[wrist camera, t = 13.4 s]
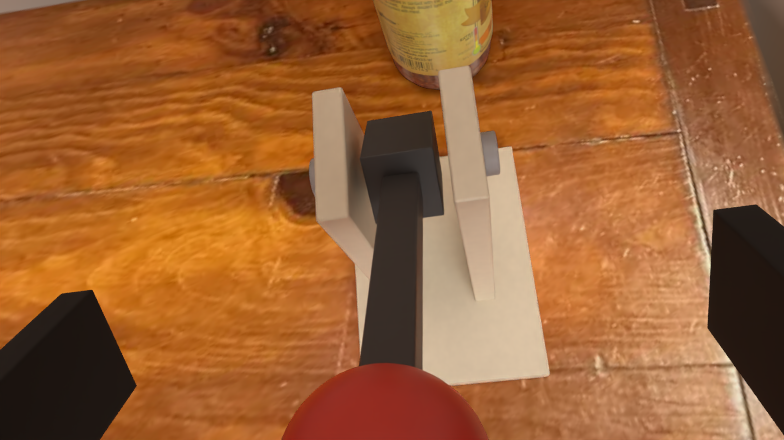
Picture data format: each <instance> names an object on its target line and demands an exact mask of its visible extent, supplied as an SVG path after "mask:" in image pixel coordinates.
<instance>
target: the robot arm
mask: <svg viewBox="0 0 784 440" xmlns="http://www.w3.org/2000/svg"><path fill="white" fill-rule="evenodd" d="M708 329H709V331H710V332H711V334H712V335H713V336H714V338H715V339H716V341H717V342H718V343H719V345H720V346H721V348H722V349H723V350H724V352H725V353H726V355H727V356H728V357H729V359H730V360H731V362H732V363H733V364H734V366H735V367H736V369H737V370H738V371H739V373H740V374H741V376H742V377H743V378H744V380H745V381H746V383H747V384H748V386H749V387H750V388H751V390H752V391H753V393H754V394H755V395H756V397H757V398H758V400H759V401H760V402H761V404H762V405H763V407H764V408H765V409H766V411H767V412H768V414H769V415H770V416H771V418H772V419H773V421H774V422H775V423H776V425H777V426H778V428H779V429H780V430H781V432H782V433H783V435H784V226H782V225H781V224H780V223H779V222H777V221H776V220H775V219H774V218H772V217H771V216H770V215H769V214H767V213H766V212H765V211H764V210H762V209H761V208H760V207H759V206H758V205H749V206H741V207H733V208H725V209H717V210H714V211H713V231H712V250H711V270H710V289H709V309H708ZM136 386H137V385H136V383H135V381H134V379H133V377H132V375H131V372H130V370H129V368H128V366H127V364H126V362H125V359H124V357H123V355H122V353H121V351H120V349H119V346H118V344H117V342H116V340H115V338H114V336H113V333H112V331H111V329H110V327H109V325H108V323H107V320H106V318H105V316H104V314H103V312H102V310H101V307H100V305H99V303H98V301H97V299H96V297H95V294H94V292H93V290H87V291H79V292H71V293H63V294H61V295H59V296H58V297H57V298H56V299H55V300H54V301H53V302H52V303H51V304H50V305H49V306H48V307H46V308H45V309H44V310H43V311H42V312H41V313H40V314H39V315H38V316H37V317H36V318H34V319H33V320H32V321H31V322H30V323H29V324H28V325H27V326H26V327H25V328H24V329H22V330H21V331H20V332H19V333H18V334H17V335H16V336H15V337H14V338H13V339H12V340H10V341H9V342H8V343H7V344H6V345H5V346H4V347H3V348H2V349H1V350H0V440H100V439H101V437H102V436H103V434H104V433H105V431H106V430H107V428H108V427H109V425H110V424H111V423H112V421H113V420H114V418H115V417H116V415H117V414H118V412H119V411H120V409H121V408H122V407H123V405H124V404H125V402H126V401H127V399H128V398H129V396H130V395H131V393H132V392H133V391H134V389H135V388H136Z"/></svg>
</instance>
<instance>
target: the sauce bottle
mask: <svg viewBox="0 0 784 440" xmlns="http://www.w3.org/2000/svg"><path fill="white" fill-rule="evenodd" d="M373 2H374V5H375V8H376V12H377V15H378V18H379V21H380V24H381V27H382V30H383V33H384V37H385V40H386V44H387V47H388V48H389V51H390V54H391V55H392V57H393V60H394V63H395V65H396V67H397V68H398V70H399V71H400V73H401V74H402V75H403V76H404V77H405V78H406V79H408V80H410V81H412V82H413V83H415V84H416V85H418V86H421V87H425V88H431V89H437V90H438V89H440V86H439V78H438V72H439V71H440V70H445V69H450V68H456V67H462V66H469V67H470V68H471V74H472V77H474V76H475V75H476V74H477V73H478V71H479V70H480V69H481V68H482V66H483V65H484V64H485V62H486V60H487V58H488V54H489V49H490V39H491V37H492V31H493V20H492V1H491V0H373Z"/></svg>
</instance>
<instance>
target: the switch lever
mask: <svg viewBox="0 0 784 440" xmlns="http://www.w3.org/2000/svg"><path fill="white" fill-rule="evenodd" d="M360 162H361V166H362V170H363V175H364V179H365V183H366V187H367V191H368V195H369V199H370V203H371V207H372V211H373V215H374V220H375V223H376V224H377V227H376V235H375V243H374V251H373V259H372V267H371V275H370V283H369V291H368V299H367V307H366V315H365V323H364V331H363V339H362V347H361V354H360V362H359V367H355V368H352V369H349V370H347V371H344V372H342V373H340V374H338V375H336V376H334V377H333V378H331V379H329V380H328V381H326V382H325V383H324V384H322V385H321V386H320V387H318V388H317V389H316V390H315V391H314V392H313V393H312V394H311V395H310V396H309V397H308V398H307V399H306V400H305V401H304V402H303V403H302V404H301V406H300V407H299V408H298V410H297V411H296V412H295V414H294V416H293V417H292V419H291V421H290V423H289V424H288V426H287V428H286V430H285V433H284V435H283V437H282V440H489V439H488V437H487V434H486V432H485V430H484V428H483V426H482V424H481V422H480V420H479V418H478V416H477V415H476V413H475V412H474V411H473V409H472V408H471V407H470V405H469V404H468V403H467V402H466V400H465V399H464V398H463V397H462V396H461V395H460V394H459V393H458V392H457V391H456V390H455V389H453V388H452V387H451V386H450V385H448V384H447V383H446V382H444V381H443V380H441V379H440V378H438V377H436V376H435V375H433V374H430V373H428V372H426V371H424V370H423V218H427V217H434V216H442V215H444V201H443V183H442V170H441V164H440V158H439V152H438V146H437V140H436V133H435V127H434V121H433V115H432V111H427V112H420V113H414V114H408V115H402V116H396V117H389V118H383V119H377V120H371V121H367V126H366V130H365V135H364V140H363V145H362V150H361V154H360Z"/></svg>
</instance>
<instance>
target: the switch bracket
mask: <svg viewBox="0 0 784 440" xmlns="http://www.w3.org/2000/svg"><path fill="white" fill-rule="evenodd" d="M438 78H439V86H440V94H441V103H442V111H443V119H444V127H445V135H446V143H447V151H448V156H443V157H439V158H440V164H441V170H442V183H443V201H444V215H442V216H434V217H427V218H423V370H424V371H426V372H428V373H430V374H433V375H435V376H436V377H438V378H440V379H441V380H443V381H444V382H446V383H447V384H448V385H450V386H454V385H464V384H475V383H486V382H496V381H507V380H518V379H528V378H539V377H547V376H548V375H549V374H550V372H549V366H548V360H547V354H546V348H545V342H544V336H543V330H542V324H541V318H540V312H539V306H538V300H537V295H536V289H535V283H534V277H533V271H532V265H531V259H530V253H529V247H528V241H527V235H526V229H525V223H524V217H523V211H522V205H521V199H520V194H519V188H518V182H517V176H516V170H515V164H514V158H513V152H512V147H511V146H510V147H503V148H498V145H497V139H496V134H495V132H494V131H488V132H481V133H480V128H479V121H478V114H477V108H476V101H475V94H474V88H473V81H472V74H471V68H470V67H469V66H462V67H456V68H450V69H445V70H440V71H439V72H438ZM312 108H313V138H314V158H313V159H311V161H310V165H309V177H310V183H311V187H312V191H313V193H314V196H315V198H316V220H317V222H318V223H319V224H320V225H321V227H322V228H323V229H324V230H325V231H326V232H327V233H328V234H329V235H330V237H331V238H332V239H333V240H334V241H335V242H336V243H337V244H338V246H339V247H340V248H341V249H342V250H343V251H344V252H345V253H346V254H347V256H348V257H349V258H350V259H351V260H352V261H353V262H354V263H355V275H356V292H357V310H358V327H359V345H360V354H361V347H362V339H363V331H364V323H365V315H366V307H367V299H368V291H369V283H370V275H371V267H372V259H373V251H374V243H375V235H376V227H377V224H376V223H375V220H374V215H373V211H372V207H371V203H370V199H369V195H368V191H367V187H366V183H365V179H364V175H363V170H362V166H361V162H360V154H361V150H362V145H363V140H364V134H363V132H362V129H361V127H360V125H359V123H358V121H357V119H356V117H355V115H354V112H353V110H352V108H351V106H350V104H349V102H348V100H347V98H346V96H345V93H344V91H343V89H342V88H340V87H339V88H333V89H327V90H321V91H315V92H313V93H312Z"/></svg>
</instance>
